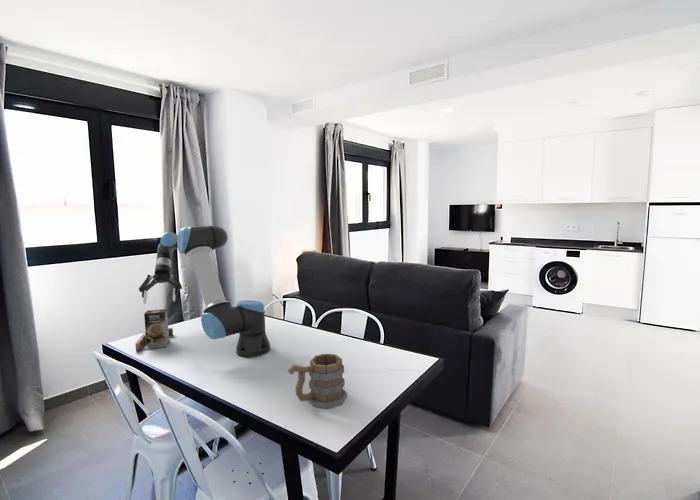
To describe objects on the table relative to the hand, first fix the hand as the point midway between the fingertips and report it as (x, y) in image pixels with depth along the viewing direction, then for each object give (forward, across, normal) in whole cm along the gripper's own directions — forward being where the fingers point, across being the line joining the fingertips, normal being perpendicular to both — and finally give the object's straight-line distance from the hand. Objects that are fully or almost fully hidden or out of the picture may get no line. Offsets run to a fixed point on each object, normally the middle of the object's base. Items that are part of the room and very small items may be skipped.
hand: (159, 301), depth 187 cm
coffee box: (+20, 0, -6) cm, 21 cm away
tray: (+19, +1, -7) cm, 21 cm away
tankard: (+74, -65, +48) cm, 110 cm away
